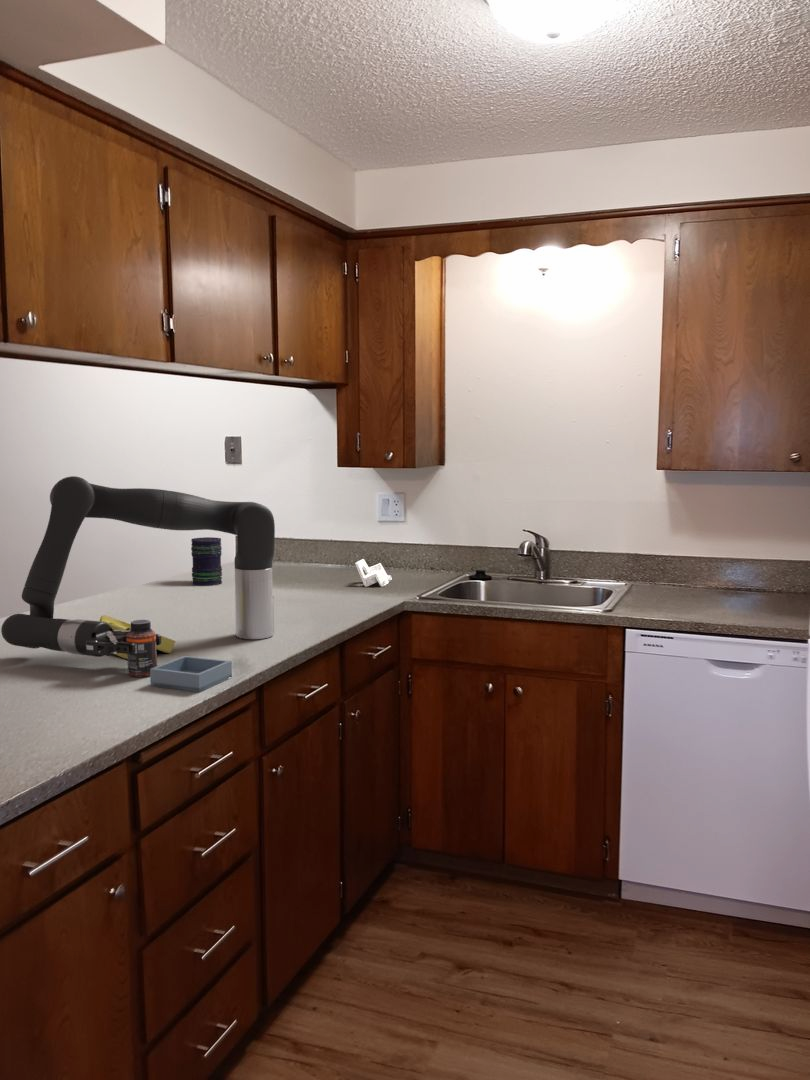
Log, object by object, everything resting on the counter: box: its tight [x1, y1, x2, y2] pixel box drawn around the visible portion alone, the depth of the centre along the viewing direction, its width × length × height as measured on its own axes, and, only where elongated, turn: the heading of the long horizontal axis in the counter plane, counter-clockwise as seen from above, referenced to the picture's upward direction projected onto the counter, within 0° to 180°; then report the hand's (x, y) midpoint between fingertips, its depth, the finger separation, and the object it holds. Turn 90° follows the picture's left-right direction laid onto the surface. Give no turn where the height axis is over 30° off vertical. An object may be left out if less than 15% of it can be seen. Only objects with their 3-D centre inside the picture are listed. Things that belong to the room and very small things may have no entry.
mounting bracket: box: [355, 558, 393, 588], centre depth 303 cm, size 12×6×11 cm, turn 168°
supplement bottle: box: [126, 619, 158, 678], centre depth 191 cm, size 6×6×11 cm
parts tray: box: [149, 655, 233, 693], centre depth 186 cm, size 12×12×4 cm
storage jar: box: [191, 536, 223, 587], centre depth 303 cm, size 10×10×15 cm
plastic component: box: [99, 614, 176, 660], centre depth 212 cm, size 20×7×10 cm
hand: (147, 644), depth 190 cm, fingers open, 8 cm apart
